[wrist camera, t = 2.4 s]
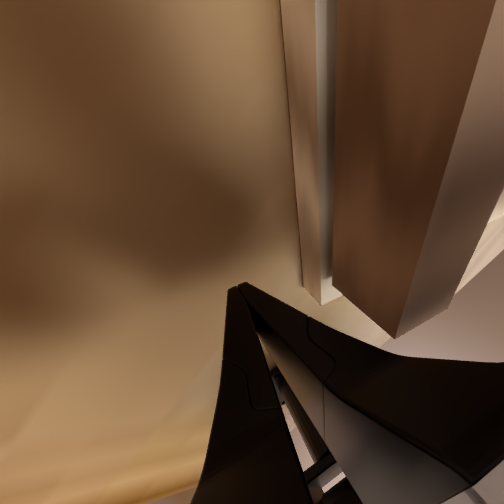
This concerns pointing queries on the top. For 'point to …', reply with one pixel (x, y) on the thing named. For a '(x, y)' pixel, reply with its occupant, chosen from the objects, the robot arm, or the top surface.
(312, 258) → the stool seat
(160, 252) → the top surface
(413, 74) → the walnut leg
